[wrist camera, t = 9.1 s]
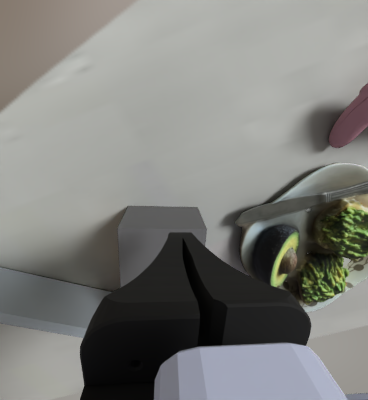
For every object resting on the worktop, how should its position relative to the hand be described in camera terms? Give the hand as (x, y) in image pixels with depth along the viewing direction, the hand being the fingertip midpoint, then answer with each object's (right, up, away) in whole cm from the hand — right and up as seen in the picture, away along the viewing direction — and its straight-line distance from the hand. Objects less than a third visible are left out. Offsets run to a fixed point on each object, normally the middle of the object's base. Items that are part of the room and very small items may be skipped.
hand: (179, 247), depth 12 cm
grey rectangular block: (-2, -3, +11) cm, 12 cm away
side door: (-14, -7, +11) cm, 19 cm away
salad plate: (+15, -2, +13) cm, 20 cm away
